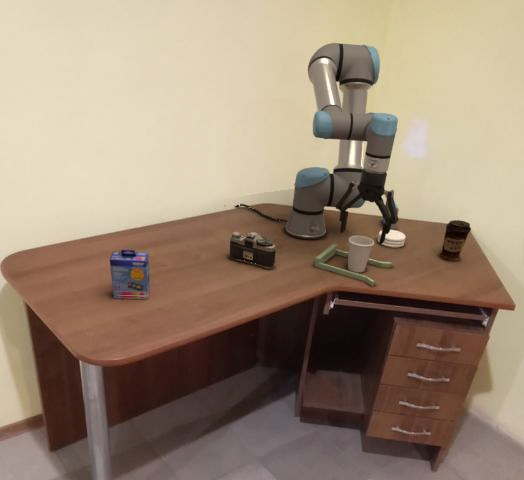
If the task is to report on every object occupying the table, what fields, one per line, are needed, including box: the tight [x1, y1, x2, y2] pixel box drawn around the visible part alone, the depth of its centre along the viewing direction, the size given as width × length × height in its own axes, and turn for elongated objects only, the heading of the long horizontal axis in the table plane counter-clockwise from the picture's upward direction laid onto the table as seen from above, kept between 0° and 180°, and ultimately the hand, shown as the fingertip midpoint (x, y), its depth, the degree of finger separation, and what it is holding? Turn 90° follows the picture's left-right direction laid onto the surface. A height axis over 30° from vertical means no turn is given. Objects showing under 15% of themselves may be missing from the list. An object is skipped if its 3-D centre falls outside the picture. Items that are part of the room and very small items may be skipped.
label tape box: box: [382, 198, 400, 230], centre depth 207 cm, size 9×4×12 cm, turn 179°
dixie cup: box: [347, 235, 375, 273], centre depth 171 cm, size 8×8×10 cm
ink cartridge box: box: [109, 249, 151, 300], centre depth 143 cm, size 10×6×14 cm, turn 95°
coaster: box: [377, 229, 406, 249], centre depth 194 cm, size 10×10×4 cm
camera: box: [229, 231, 277, 270], centre depth 170 cm, size 16×10×10 cm, turn 65°
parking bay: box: [313, 243, 392, 287], centre depth 173 cm, size 21×18×3 cm
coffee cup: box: [440, 219, 472, 261], centre depth 184 cm, size 9×8×13 cm
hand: (361, 237), depth 168 cm, fingers open, 13 cm apart
